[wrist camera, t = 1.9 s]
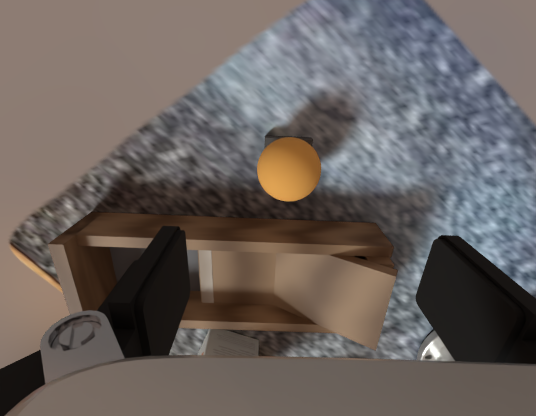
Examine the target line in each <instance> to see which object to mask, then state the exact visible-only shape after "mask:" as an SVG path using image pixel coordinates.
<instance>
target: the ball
mask: <svg viewBox="0 0 536 416" xmlns="http://www.w3.org/2000/svg"><path fill="white" fill-rule="evenodd" d="M257 173H258V178H259V181H260V183H261V185H262V187H263V188H264V190H265V191H266V192H267V193H268V194H269V195H271V196H272V197H274V198H276V199H278V200H282V201H296V200H300V199H302V198H304V197H306V196H307V195H309V194H310V193H311V192H312V191H313V190H314V188H315V187H316V185H317V184H318V182H319V179H320V175H321V163H320V159H319V157H318V154H317V152H316V151H315V150H314V148H313V147H312V146H311V145H310V144H308V143H307V142H305V141H304V140H301V139H299V138H294V137H285V138H281V139H278V140H275V141H274V142H272V143H270V144H269V145H268V146H267V147H266V148H265V149H264V151H263V152H262V154H261V156H260V158H259V161H258V166H257Z"/></svg>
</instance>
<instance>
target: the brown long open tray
mask: <svg viewBox="0 0 536 416" xmlns="http://www.w3.org/2000/svg"><path fill="white" fill-rule="evenodd" d="M162 226H179V227H180V230H184V231H185V234H186V245H187V256H188V267H189V278H190V297H189V300H188V303H187V305H186V308H185V311H184V314H183V316H182V319H181V322H180V325H179V328H198V329H228V330H258V331H288V332H318V333H337V334H340V335H342V336H344V337H346V338H349V339H351V340H353V341H355V342H358V343H360V344H362V345H364V346H367V347H369V348H371V349H373V350H376V348H377V344H378V341H379V337H380V333H381V330H382V326H383V322H384V319H385V315H386V312H387V308H388V304H389V301H390V297H391V293H392V290H393V286H394V283H395V279H396V275H397V272H398V270H396V269H393V267H394V264H393V262H392V261H391V259H390V258H389V257H391V256H392V253H393V249H394V247H393V245H392V244H391V243H390V241H389V240H388V239H387V237H386V236H385V235H384V233H383V232H382V231H381V229H380V228H379V227H378V225H377V224H376V223H364V222H338V221H312V220H286V219H261V218H235V217H209V216H184V215H158V214H132V213H106V212H91V213H89V214H88V215H87V216H85V217H84V218H83V219H81V220H80V221H78V222H77V223H76V224H74V225H73V226H72V227H70V228H69V229H68V230H66V231H65V232H64V233H62V234H61V235H59V236H58V237H57V238H55V239H54V240H53V241H51V242H50V243H49V244H48V247H49V250H50V253H51V256H52V259H53V263H54V266H55V269H56V272H57V275H58V278H59V281H60V285H61V288H62V291H63V294H64V297H65V300H66V303H67V306H68V310H69V313H70V315H71V314H74V313H77V312H81V311H88V310H92V311H97V310H98V308H99V307H100V306H101V304H102V303H103V301H104V300H105V299H106V297H107V296H108V295H109V293H110V292H111V291H112V289H113V288H114V287H115V285H116V284H117V283H118V281H119V280H120V279H121V277H122V276H123V274H124V273H125V272H126V270H127V269H128V268H129V266H130V265H131V264H132V263H133V262H134V261H135V260H138V259H139V258H140V256H141V255H142V254H143V252H144V251H145V250H146V248H147V247H148V245H149V244H150V243H151V241H152V240H153V238H154V237H155V236H156V234H157V233H158V231H159V230H160V229H161V227H162Z"/></svg>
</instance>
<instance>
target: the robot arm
mask: <svg viewBox="0 0 536 416" xmlns="http://www.w3.org/2000/svg"><path fill="white" fill-rule="evenodd" d="M189 297H190V278H189V267H188V256H187V245H186V234H185V231H184V230H180V227H179V226H162V227H161V229H160V230H159V231H158V233H157V234H156V236H155V237H154V238H153V240H152V241H151V243H150V244H149V245H148V247H147V248H146V250H145V251H144V252H143V254H142V255H141V256H140V258H139V259H138V260H135V261H134V262H133V263H132V264H131V265H130V266H129V268H128V269H127V270H126V272H125V273H124V274H123V276H122V277H121V279H120V280H119V281H118V283H117V284H116V285H115V287H114V288H113V289H112V291H111V292H110V293H109V295H108V296H107V297H106V299H105V300H104V301H103V303H102V304H101V306H100V307H99V308H98V310H97V311H92V310H88V311H81V312H77V313H74V314H71V315H69V316H67V317H65V318H63V319H61V320H59V321H58V322H56V323H55V324H54V325H52V326H51V327H50V328H49V329H48V330H47V331H46V332H45V334H44V335H43V337H42V339H41V344H40V349H41V350H39V351H37V352H35V353H33V354H31V355H29V356H27V357H25V358H23V359H20V360H18V361H16V362H14V363H12V364H10V365H8V366H6V367H4V368H2V369H0V416H536V299H535V298H534V297H533V296H532V295H530V294H529V293H528V292H527V291H526V290H524V289H523V288H522V287H521V286H519V285H518V284H517V283H516V282H515V281H513V280H512V279H511V278H510V277H508V276H507V275H506V274H505V273H504V272H502V271H501V270H500V269H499V268H497V267H496V266H495V265H494V264H493V263H491V262H490V261H489V260H488V259H486V258H485V257H484V256H483V255H482V254H480V253H479V252H478V251H477V250H475V249H474V248H473V247H472V246H471V245H469V244H468V243H467V242H466V241H464V240H463V239H462V238H461V237H459V236H448V235H441V236H439V237H438V239H435V240H434V242H433V244H432V247H431V250H430V253H429V256H428V260H427V263H426V266H425V269H424V272H423V275H422V278H421V281H420V284H419V287H418V291H417V294H416V302H417V304H418V306H419V308H420V309H421V311H422V312H423V314H424V315H425V317H426V318H427V320H428V321H429V323H430V324H431V326H432V327H433V329H434V331H433V332H432V333H431V334H430V335H429V336H428V337H427V338H426V339H425V340H424V342H423V343H422V344H421V346H420V348H419V351H418V354H417V360H397V359H361V358H322V357H276V356H227V355H169V353H170V350H171V347H172V344H173V341H174V339H175V336H176V333H177V330H178V328H179V325H180V322H181V319H182V316H183V314H184V311H185V308H186V305H187V303H188V300H189Z"/></svg>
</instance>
